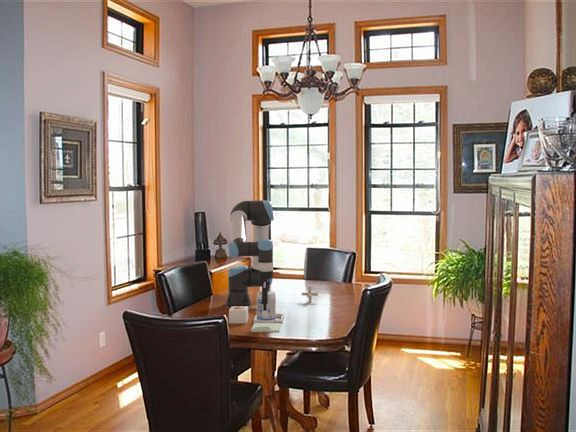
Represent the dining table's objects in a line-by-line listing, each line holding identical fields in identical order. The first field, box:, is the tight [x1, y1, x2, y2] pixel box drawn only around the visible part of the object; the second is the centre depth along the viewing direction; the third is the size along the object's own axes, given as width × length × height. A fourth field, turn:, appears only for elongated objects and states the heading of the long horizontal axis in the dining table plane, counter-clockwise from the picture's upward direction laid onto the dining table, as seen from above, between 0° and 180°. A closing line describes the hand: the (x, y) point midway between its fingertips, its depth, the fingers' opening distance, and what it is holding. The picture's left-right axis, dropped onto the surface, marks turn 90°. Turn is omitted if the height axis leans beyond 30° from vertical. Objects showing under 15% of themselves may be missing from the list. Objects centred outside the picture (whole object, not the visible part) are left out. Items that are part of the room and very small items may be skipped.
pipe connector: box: [301, 285, 319, 304], centre depth 349 cm, size 10×10×10 cm
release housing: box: [228, 306, 249, 324], centre depth 304 cm, size 9×9×7 cm
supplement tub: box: [256, 290, 277, 323], centre depth 289 cm, size 10×10×15 cm
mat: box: [250, 322, 282, 333], centre depth 289 cm, size 14×14×1 cm
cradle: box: [253, 312, 285, 325], centre depth 305 cm, size 15×15×2 cm
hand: (266, 314), depth 289 cm, fingers closed on supplement tub, 9 cm apart
